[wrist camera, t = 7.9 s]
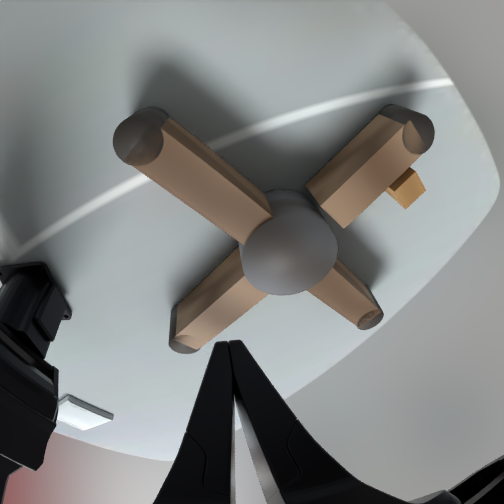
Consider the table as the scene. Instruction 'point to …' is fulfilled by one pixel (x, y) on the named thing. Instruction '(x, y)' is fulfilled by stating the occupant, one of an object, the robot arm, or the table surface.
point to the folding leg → (371, 162)
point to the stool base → (247, 233)
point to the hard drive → (81, 414)
